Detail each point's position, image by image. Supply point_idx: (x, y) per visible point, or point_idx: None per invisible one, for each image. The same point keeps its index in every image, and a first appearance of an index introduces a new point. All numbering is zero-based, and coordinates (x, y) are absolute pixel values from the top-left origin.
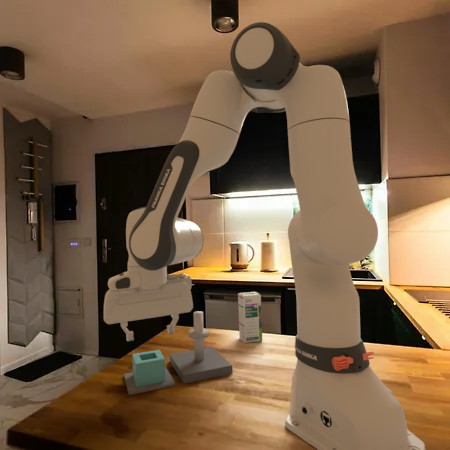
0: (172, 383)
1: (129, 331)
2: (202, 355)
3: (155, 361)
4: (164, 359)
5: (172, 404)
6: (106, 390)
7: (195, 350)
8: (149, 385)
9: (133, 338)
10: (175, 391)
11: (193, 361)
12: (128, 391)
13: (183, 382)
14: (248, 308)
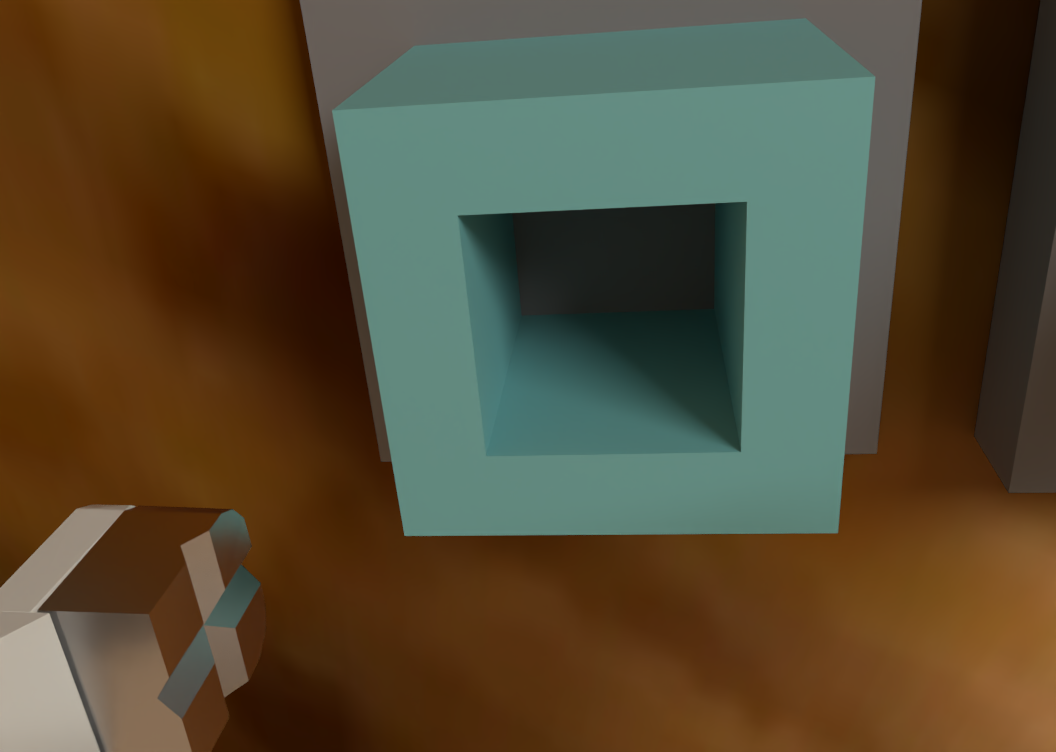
0: (845, 452)
1: (70, 620)
2: None
3: (686, 522)
4: (827, 530)
5: (739, 708)
6: (148, 261)
7: None
8: None
9: (249, 667)
10: (831, 540)
11: None
12: (377, 436)
13: (979, 424)
14: None
